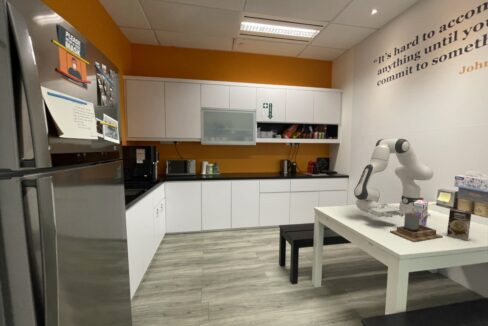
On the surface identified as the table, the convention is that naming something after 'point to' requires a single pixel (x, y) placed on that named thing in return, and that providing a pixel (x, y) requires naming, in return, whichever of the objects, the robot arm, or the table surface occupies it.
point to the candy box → (421, 211)
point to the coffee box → (459, 224)
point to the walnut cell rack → (417, 234)
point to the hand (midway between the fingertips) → (397, 215)
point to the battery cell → (411, 222)
